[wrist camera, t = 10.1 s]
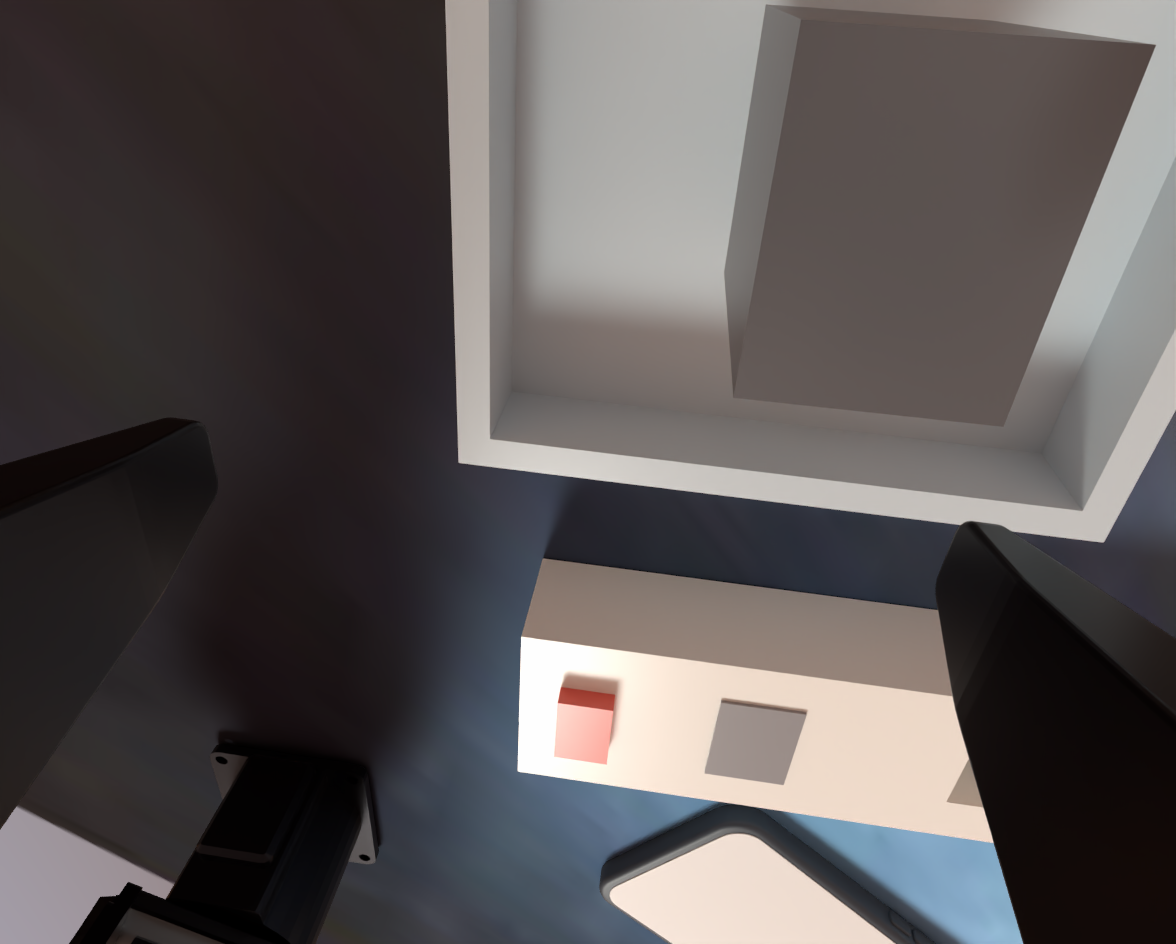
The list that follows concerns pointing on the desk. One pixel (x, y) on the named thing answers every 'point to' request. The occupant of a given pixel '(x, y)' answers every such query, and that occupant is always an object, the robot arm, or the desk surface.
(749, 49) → the tray
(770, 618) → the power strip
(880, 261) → the charger
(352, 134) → the desk surface
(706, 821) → the phone case
